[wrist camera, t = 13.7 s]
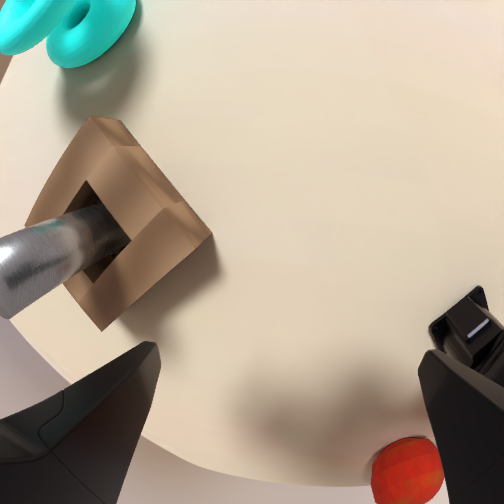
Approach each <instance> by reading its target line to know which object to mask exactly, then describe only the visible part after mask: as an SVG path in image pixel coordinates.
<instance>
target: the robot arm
mask: <svg viewBox="0 0 504 504" xmlns="http://www.w3.org/2000/svg"><path fill="white" fill-rule="evenodd" d="M478 291H479V292H478ZM435 326H436V327H435ZM434 327H435V328H434ZM433 328H434V329H433ZM429 329H430V331H431V334H432V336H433V338H434V340H435V342H436V345H437V347H438V349H439V350H438V349H432V350H428V351H427V352H426V353H425V355H424V357H423V359H422V361H421V363H420V365H419V368H418V376H419V380H420V384H421V389H422V393H423V397H424V402H425V406H426V410H427V413H428V417H429V420H430V423H431V426H432V430H433V433H434V437H435V440H436V444H437V448H438V451H439V455H440V459H441V463H442V468H443V472H444V477H445V481H446V486H447V491H448V497H449V503H450V504H504V326H503V325H502V324H501V323H500V322H499V321H498V320H497V319H496V318H495V317H494V316H493V315H492V314H491V313H490V312H489V309H488V305H487V301H486V297H485V293H484V290H483V288H482V287H481V286H477V287H475V288H474V289H473V290H472V291H471V292H470V293H469V294H468V295H466V296H465V297H464V298H463V299H462V300H460V301H459V302H458V303H457V304H456V305H454V306H453V307H452V308H451V309H450V310H448V311H447V312H446V313H444V314H443V315H442V316H441V317H439V318H438V319H437V320H435V321H434V322H433V323H432V324H431V325H430V327H429ZM160 369H161V360H160V354H159V349H158V345H157V344H156V343H155V342H149V341H144V342H142V343H140V344H139V345H137V346H135V347H134V348H132V349H131V350H129V351H127V352H126V353H124V354H122V355H121V356H119V357H117V358H116V359H114V360H112V361H111V362H109V363H107V364H106V365H104V366H102V367H101V368H99V369H97V370H96V371H94V372H92V373H91V374H89V375H87V376H85V377H84V378H82V379H80V380H79V381H77V382H75V383H74V384H72V385H70V386H69V387H67V388H65V389H64V390H61V391H60V392H58V393H56V394H55V395H53V396H51V397H49V398H47V399H45V400H44V401H42V402H39V403H38V404H35V405H33V406H31V407H29V408H26V409H24V410H22V411H20V412H17V413H15V414H12V415H10V416H8V417H5V418H3V419H0V504H116V503H117V500H118V497H119V494H120V491H121V488H122V485H123V482H124V479H125V476H126V474H127V471H128V468H129V465H130V462H131V459H132V457H133V454H134V451H135V448H136V446H137V443H138V440H139V437H140V435H141V432H142V429H143V427H144V424H145V421H146V419H147V416H148V414H149V411H150V408H151V404H152V401H153V397H154V393H155V389H156V385H157V381H158V377H159V373H160Z"/></svg>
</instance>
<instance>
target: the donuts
mask: <svg viewBox="0 0 504 504" xmlns="http://www.w3.org/2000/svg"><path fill="white" fill-rule="evenodd" d="M135 7H136V0H6V2H5V4H4V6H3V8H2V10H1V12H0V52H1V53H2V54H5V55H17V54H20V53H23V52H25V51H27V50H29V49H30V48H32V47H34V46H35V45H37V44H38V43H39V42H41V41H42V40H43V39H44V38H45V37H47V40H46V48H47V52H48V56H49V57H50V59H51V60H52V62H53V63H55V64H56V65H58V66H60V67H64V68H75V67H79V66H82V65H85V64H87V63H90V62H91V61H93V60H95V59H96V58H98V57H99V56H101V55H102V54H103V53H105V52H106V51H107V50H108V49H109V48H110V47H111V46H112V45H113V44H114V43H115V42H116V41H117V40H118V39H119V37H120V36H121V35H122V34H123V32H124V31H125V29H126V28H127V26H128V24H129V23H130V21H131V19H132V16H133V14H134V11H135ZM86 14H87V15H86ZM85 15H86V16H85ZM84 16H85V18H84V19H83V17H84ZM82 19H83V20H82ZM81 20H82V21H81ZM80 21H81V22H80Z"/></svg>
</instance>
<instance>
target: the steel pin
mask: <svg viewBox="0 0 504 504" xmlns="http://www.w3.org/2000/svg"><path fill="white" fill-rule="evenodd" d="M131 241H132V240H131V239H130V238H129V236H128V235H127V234H126V233H125V231H124V230H123V229H122V227H121V226H120V225H119V224H118V222H117V221H116V220H115V218H114V217H113V216H112V214H111V213H110V212H109V210H108V209H107V208H106V206H105V205H104V204H103V202H102V203H99V204H96V205H92V206H89V207H86V208H82V209H79V210H76V211H73V212H70V213H67V214H64V215H61V216H58V217H55V218H52V219H49V220H46V221H43V222H41V223H38V224H35V225H32V226H30V227H27V228H24V229H22V230H19V231H17V232H14V233H12V234H9V235H7V236H4V237H2V238H0V315H1V316H2V317H3V318H6V319H10V318H12V317H13V316H15V315H16V314H17V313H19V312H20V311H22V310H23V309H24V308H26V307H27V306H29V305H30V304H32V303H33V302H35V301H36V300H37V299H39V298H40V297H42V296H43V295H45V294H46V293H48V292H49V291H51V290H52V289H54V288H56V287H57V286H59V285H60V284H62V283H63V282H65V281H66V280H68V279H70V278H71V277H73V276H74V275H76V274H78V273H79V272H81V271H82V270H84V269H86V268H87V267H89V266H91V265H92V264H94V263H95V262H97V261H99V260H101V259H102V258H104V257H106V256H107V255H109V254H111V253H112V252H114V251H116V250H118V249H119V248H121V247H123V246H125V245H126V244H128V243H129V242H131Z"/></svg>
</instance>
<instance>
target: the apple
mask: <svg viewBox="0 0 504 504" xmlns="http://www.w3.org/2000/svg"><path fill="white" fill-rule="evenodd" d="M443 480H444V472H443V468H442V463H441V459H440V455H439V451H438V449H437V448H436V446H435V445H434V444H433V442H431V441H430V440H429V439H416V438H411V437H410V438H404V439H401V440H399V441H396V442H394V443H392V444H391V445H389V446H388V447H387V448H386V449H385V450H384V451H383V452H382V453H381V454H380V455H379V456H378V458H377V459H376V460H375V462H374V463H373V467H372V478H371V488H372V492H373V495H374V499H375V502H376V503H377V504H425V503H426V502H428V501H429V500H431V499H432V498H433V497H434V496H435V495H436V493H437V492H438V491H439V490H440V488H441V485H442V483H443Z"/></svg>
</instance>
